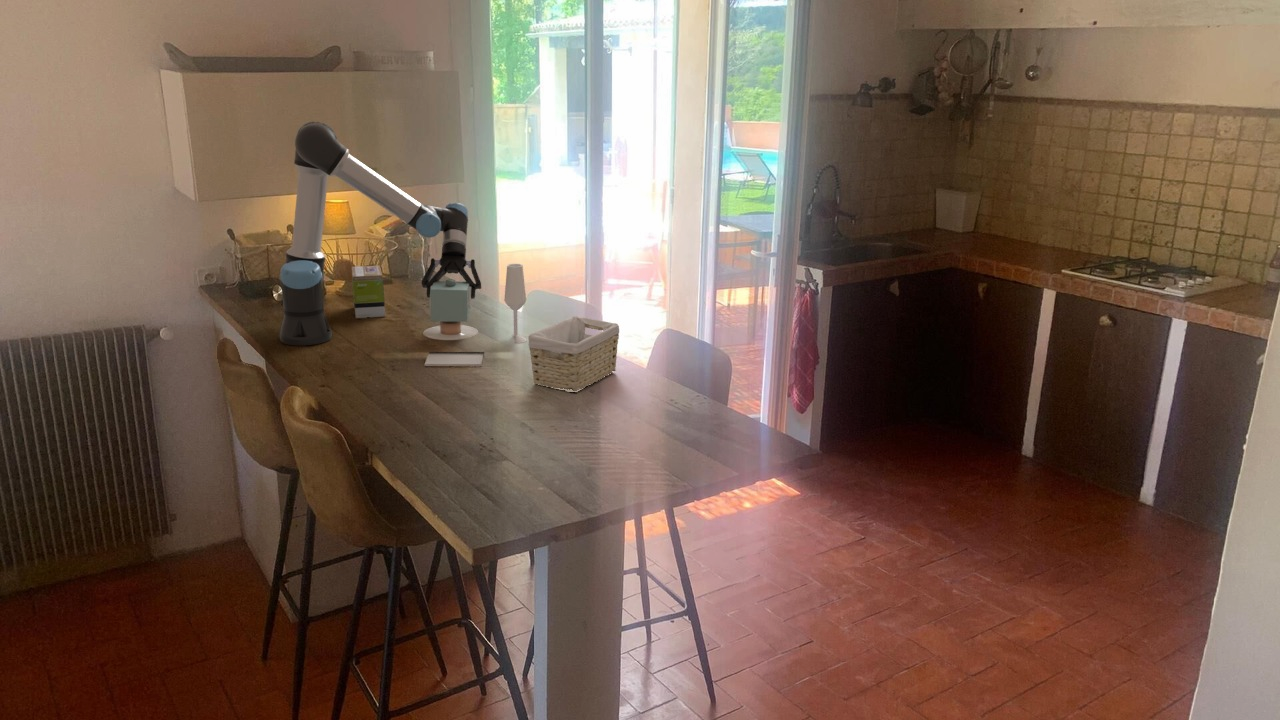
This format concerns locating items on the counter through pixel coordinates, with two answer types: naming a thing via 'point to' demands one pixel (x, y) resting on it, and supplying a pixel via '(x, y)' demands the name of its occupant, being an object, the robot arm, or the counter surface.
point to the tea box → (368, 291)
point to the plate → (450, 337)
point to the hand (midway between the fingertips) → (450, 306)
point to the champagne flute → (515, 294)
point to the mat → (454, 359)
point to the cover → (449, 301)
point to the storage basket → (573, 353)
